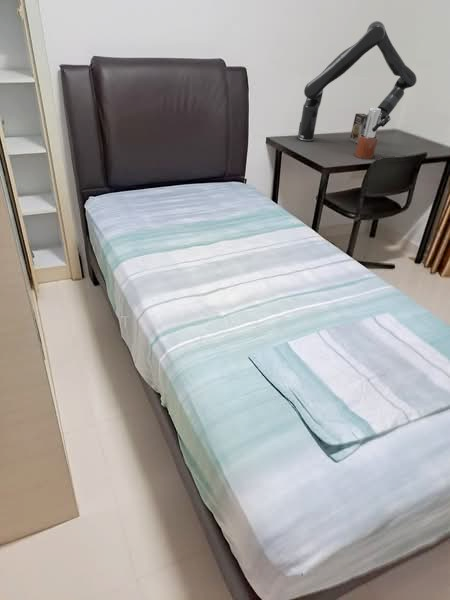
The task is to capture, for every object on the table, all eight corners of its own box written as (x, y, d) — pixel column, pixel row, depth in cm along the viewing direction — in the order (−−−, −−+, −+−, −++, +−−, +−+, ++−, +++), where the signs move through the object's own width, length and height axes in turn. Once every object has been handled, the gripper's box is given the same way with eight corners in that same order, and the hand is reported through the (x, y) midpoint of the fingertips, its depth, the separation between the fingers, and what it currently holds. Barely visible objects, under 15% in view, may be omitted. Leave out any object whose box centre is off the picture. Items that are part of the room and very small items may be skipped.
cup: (351, 154, 252) (356, 134, 245) (364, 152, 256) (369, 133, 249) (362, 159, 245) (367, 139, 238) (376, 158, 249) (381, 138, 242)
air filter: (372, 156, 248) (384, 109, 234) (363, 156, 246) (374, 109, 232) (365, 152, 253) (376, 107, 239) (356, 153, 251) (367, 107, 237)
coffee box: (349, 140, 278) (355, 113, 269) (357, 139, 280) (363, 113, 271) (357, 144, 271) (363, 116, 262) (365, 143, 273) (372, 116, 264)
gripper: (375, 97, 242) (356, 121, 242) (397, 102, 232) (377, 128, 233) (379, 107, 247) (360, 130, 248) (400, 112, 238) (380, 137, 239)
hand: (368, 129), depth 241 cm, fingers closed on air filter, 5 cm apart
